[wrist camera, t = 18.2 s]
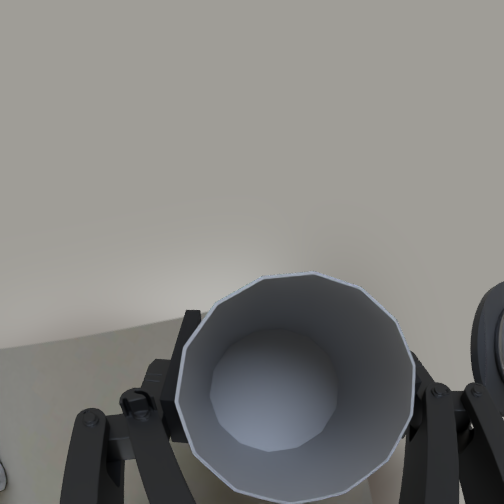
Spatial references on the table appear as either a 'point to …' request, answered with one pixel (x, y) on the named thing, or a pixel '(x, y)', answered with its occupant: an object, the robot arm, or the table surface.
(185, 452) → the table surface
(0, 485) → the water bottle
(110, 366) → the table surface
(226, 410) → the cup
